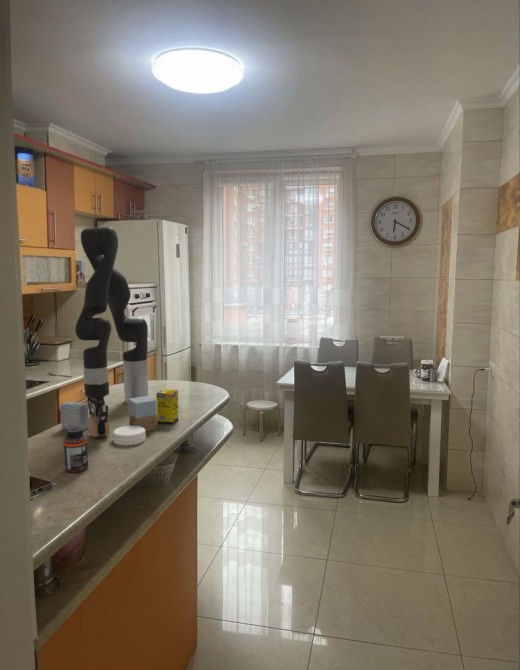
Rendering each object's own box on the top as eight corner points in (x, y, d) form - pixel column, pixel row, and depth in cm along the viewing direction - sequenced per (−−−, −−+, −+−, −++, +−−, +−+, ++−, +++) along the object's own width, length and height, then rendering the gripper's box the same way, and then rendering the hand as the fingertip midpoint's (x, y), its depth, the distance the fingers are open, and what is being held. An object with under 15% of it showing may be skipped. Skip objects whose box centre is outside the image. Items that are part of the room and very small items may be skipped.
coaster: (106, 443, 164) (105, 432, 163) (126, 433, 173) (126, 423, 172) (132, 448, 160) (132, 437, 159) (152, 438, 169) (151, 427, 168)
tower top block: (128, 413, 178) (128, 398, 178) (148, 409, 182) (147, 395, 182) (136, 418, 173) (135, 403, 172) (156, 414, 177) (156, 400, 176)
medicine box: (89, 428, 178) (88, 403, 177) (81, 432, 174) (80, 406, 173) (70, 425, 181) (69, 401, 180) (61, 429, 177) (60, 404, 175)
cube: (88, 432, 171) (88, 417, 170) (104, 429, 173) (103, 415, 173) (93, 437, 167) (92, 421, 166) (109, 434, 169) (108, 419, 169)
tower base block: (129, 427, 179) (129, 413, 178) (149, 423, 183) (148, 409, 182) (137, 433, 173) (136, 418, 173) (157, 429, 177) (156, 414, 176)
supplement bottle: (68, 465, 146) (66, 425, 145) (90, 464, 147) (88, 425, 145) (62, 473, 141) (60, 433, 139) (85, 473, 141) (83, 432, 139)
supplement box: (173, 424, 182) (172, 393, 180) (156, 423, 183) (155, 392, 181) (179, 419, 188) (178, 389, 186) (163, 418, 189) (162, 388, 187)
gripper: (77, 377, 171) (80, 428, 174) (91, 386, 159) (94, 440, 162) (101, 374, 175) (103, 424, 178) (115, 383, 163) (118, 436, 166)
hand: (99, 431), depth 170 cm, fingers closed on cube, 5 cm apart
